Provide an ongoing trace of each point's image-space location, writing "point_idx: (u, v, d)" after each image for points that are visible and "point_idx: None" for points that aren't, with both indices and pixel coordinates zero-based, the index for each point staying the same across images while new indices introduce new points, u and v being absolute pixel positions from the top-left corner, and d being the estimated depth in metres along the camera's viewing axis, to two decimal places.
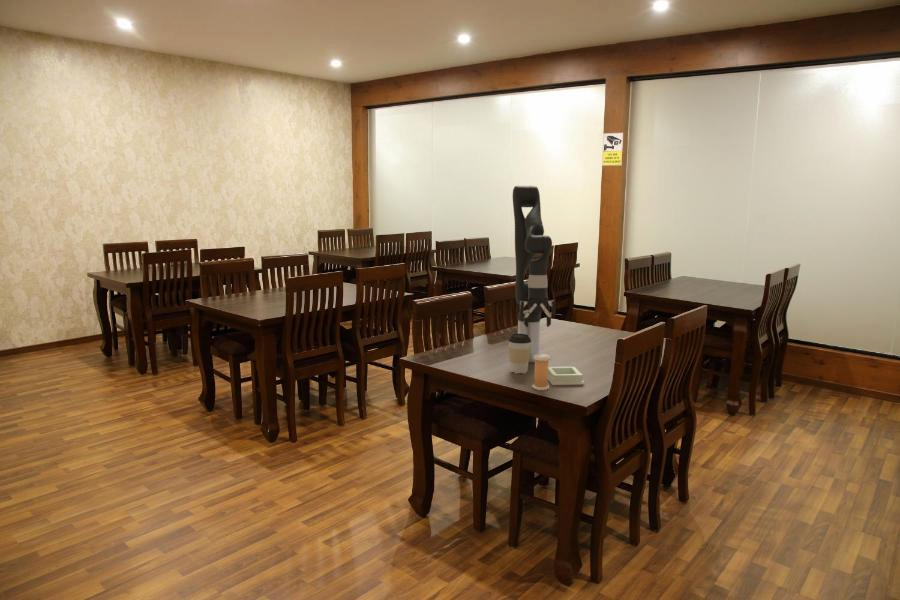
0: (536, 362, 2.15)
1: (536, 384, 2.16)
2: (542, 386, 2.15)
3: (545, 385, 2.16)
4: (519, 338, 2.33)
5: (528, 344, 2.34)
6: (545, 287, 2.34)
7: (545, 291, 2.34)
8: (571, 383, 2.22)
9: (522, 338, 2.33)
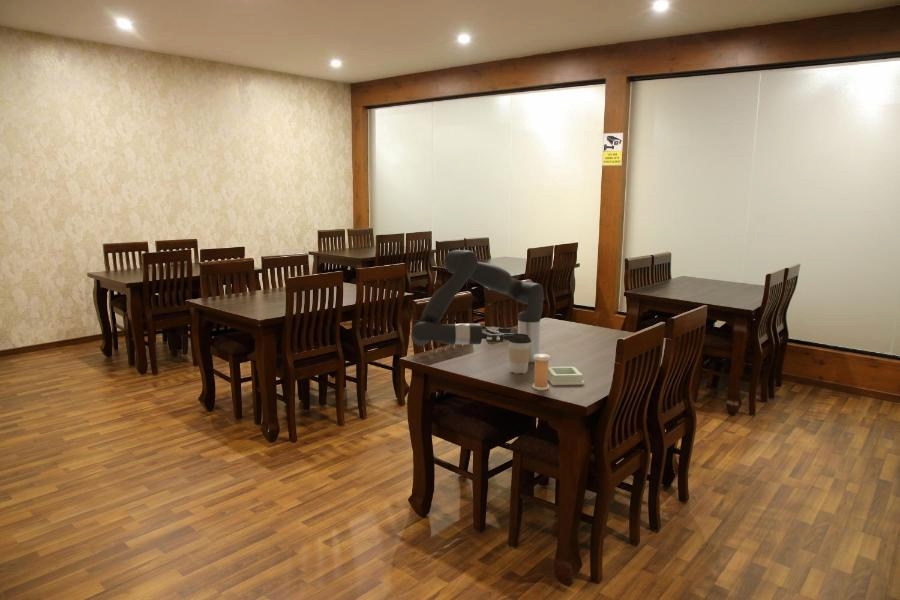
0: (536, 362, 2.15)
1: (536, 384, 2.16)
2: (542, 386, 2.15)
3: (545, 385, 2.16)
4: (519, 338, 2.33)
5: (528, 344, 2.34)
6: (468, 343, 2.10)
7: (473, 342, 2.10)
8: (571, 383, 2.22)
9: (522, 338, 2.33)
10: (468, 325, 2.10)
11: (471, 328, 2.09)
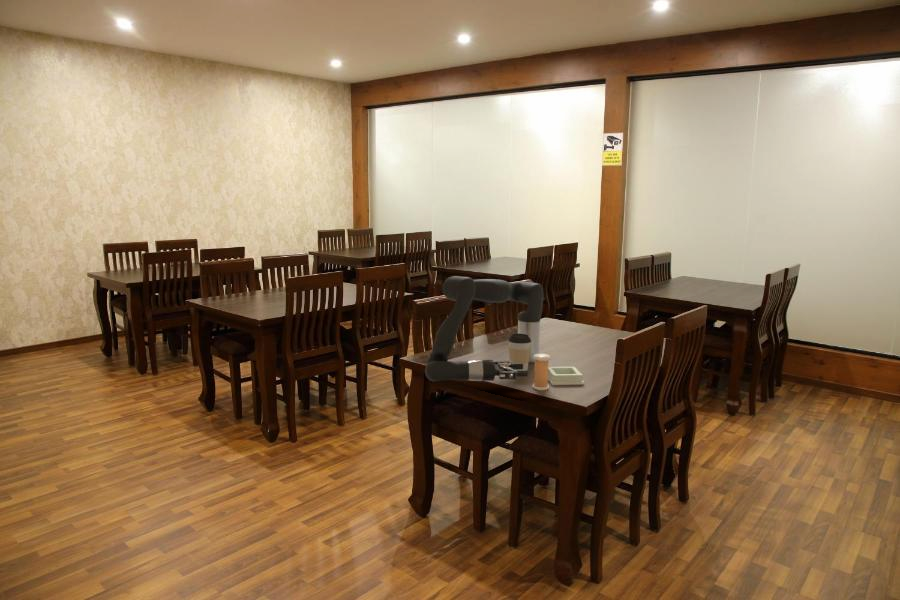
0: (536, 362, 2.15)
1: (536, 384, 2.16)
2: (542, 386, 2.15)
3: (545, 385, 2.16)
4: (519, 338, 2.33)
5: (528, 344, 2.34)
6: (482, 379, 2.13)
7: (486, 379, 2.13)
8: (571, 383, 2.22)
9: (522, 338, 2.33)
10: (481, 362, 2.13)
11: (484, 365, 2.12)
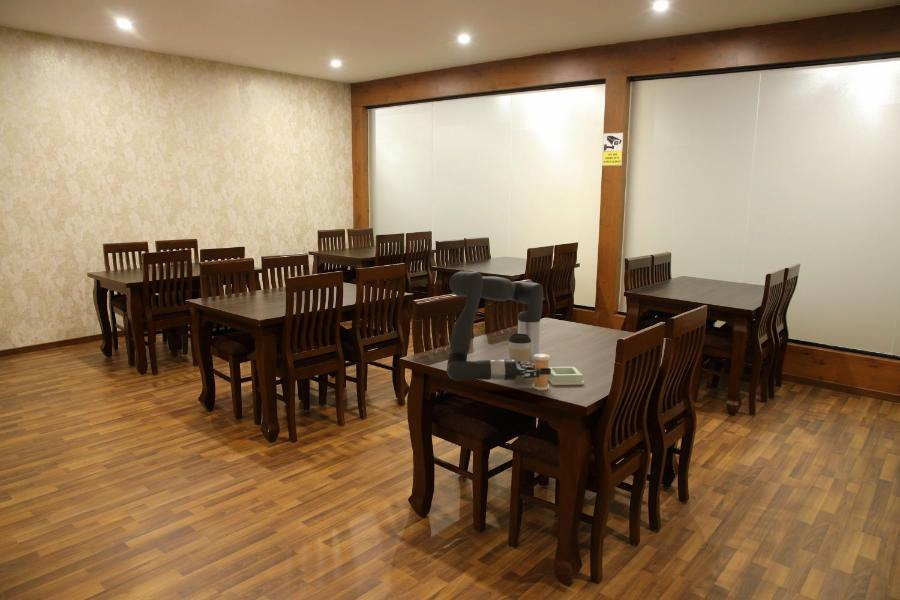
0: (536, 362, 2.15)
1: (536, 384, 2.16)
2: (542, 386, 2.15)
3: (545, 385, 2.16)
4: (519, 338, 2.33)
5: (528, 344, 2.34)
6: (503, 379, 2.14)
7: (508, 379, 2.14)
8: (571, 383, 2.22)
9: (522, 338, 2.33)
10: (503, 361, 2.14)
11: (506, 365, 2.13)
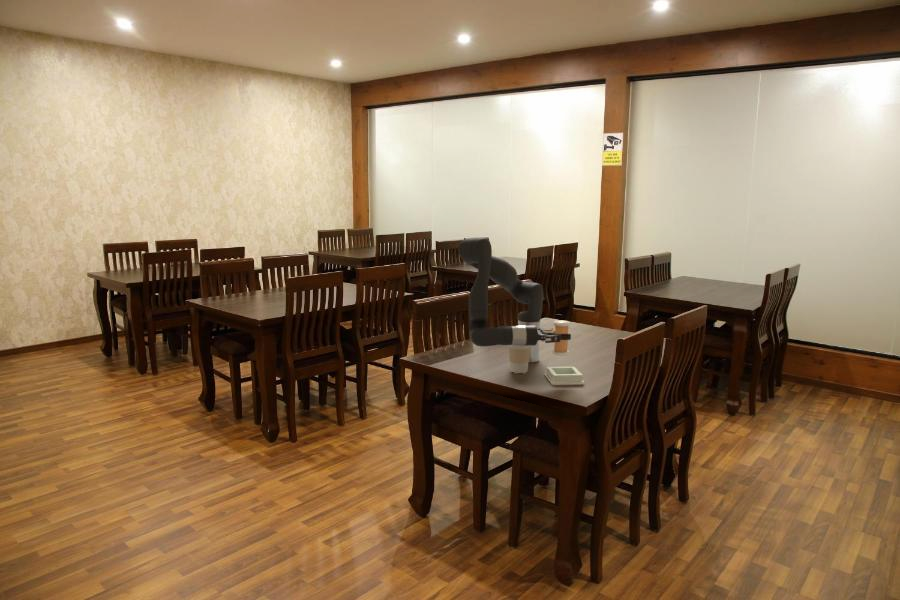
0: (556, 328, 2.21)
1: (556, 349, 2.22)
2: (562, 351, 2.21)
3: (565, 350, 2.22)
4: None
5: None
6: (525, 344, 2.20)
7: (529, 344, 2.20)
8: (571, 383, 2.22)
9: None
10: (524, 327, 2.20)
11: (527, 330, 2.19)
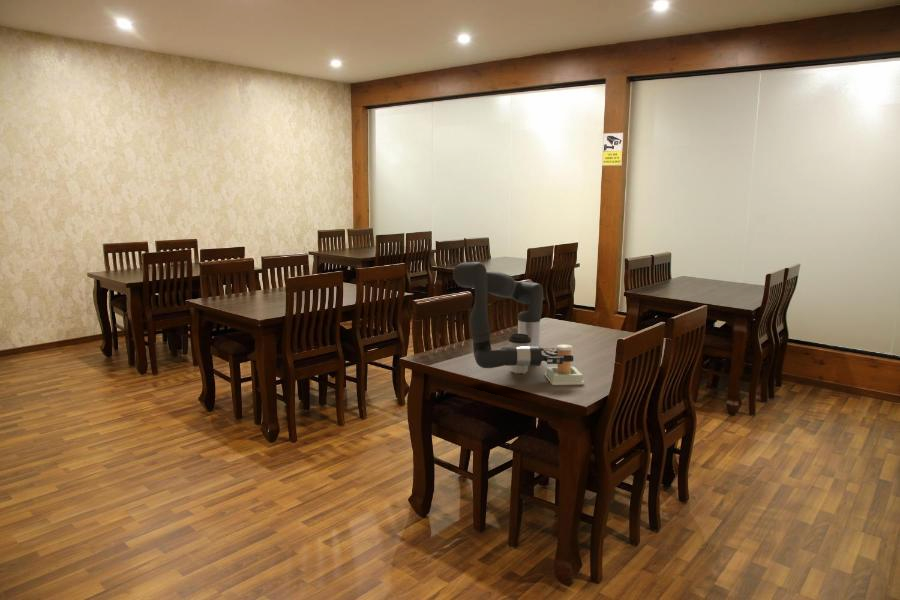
0: (559, 352, 2.25)
1: (559, 373, 2.26)
2: None
3: None
4: (519, 338, 2.33)
5: (528, 344, 2.34)
6: (529, 364, 2.23)
7: (533, 364, 2.23)
8: (571, 383, 2.22)
9: (522, 338, 2.33)
10: (528, 348, 2.23)
11: (531, 351, 2.22)
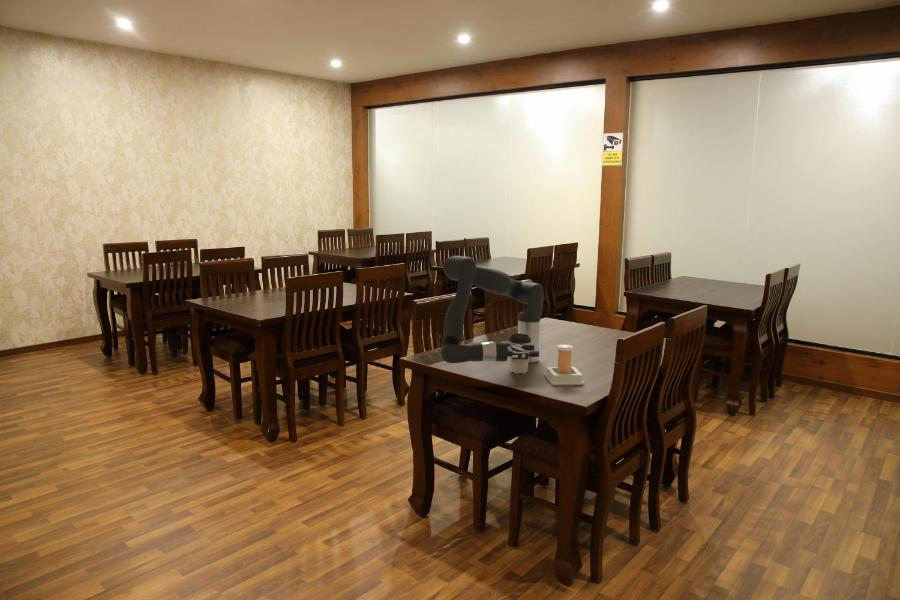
0: (559, 352, 2.25)
1: (559, 373, 2.26)
2: None
3: None
4: (519, 338, 2.33)
5: (528, 344, 2.34)
6: (495, 360, 2.22)
7: (499, 360, 2.22)
8: (571, 383, 2.22)
9: (522, 338, 2.33)
10: (494, 344, 2.22)
11: (497, 346, 2.21)
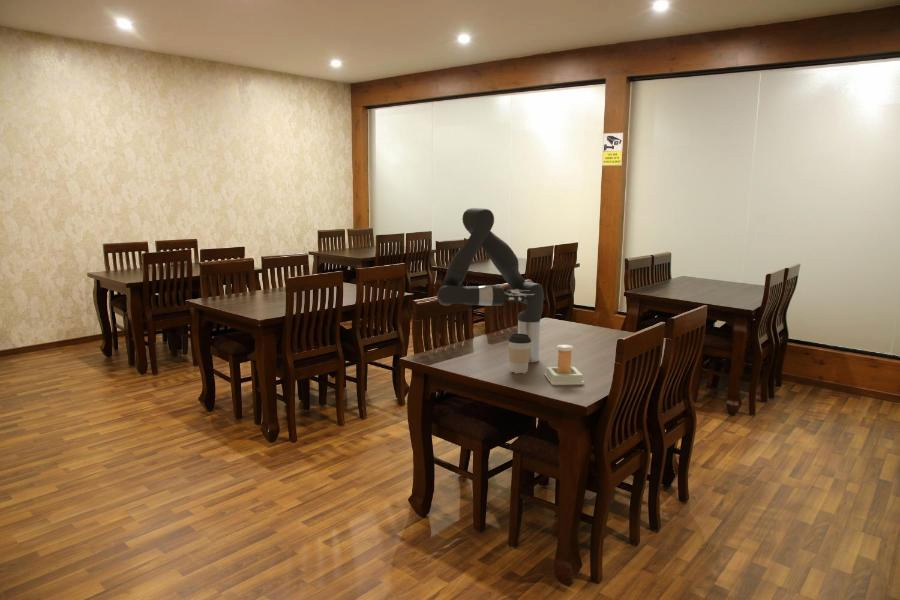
0: (559, 352, 2.25)
1: (559, 373, 2.26)
2: None
3: None
4: (519, 338, 2.33)
5: (528, 344, 2.34)
6: (491, 303, 2.22)
7: (496, 303, 2.22)
8: (571, 383, 2.22)
9: (522, 338, 2.33)
10: (491, 287, 2.22)
11: (494, 289, 2.21)
